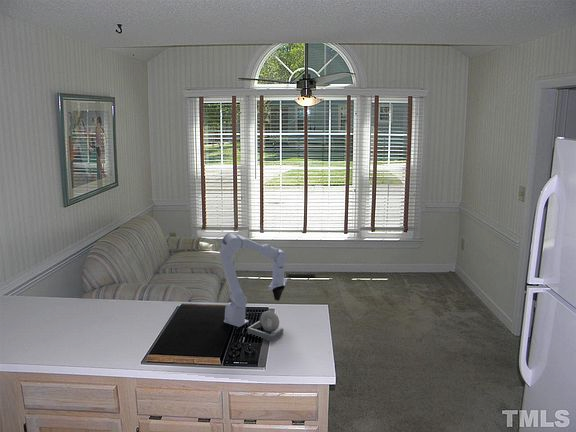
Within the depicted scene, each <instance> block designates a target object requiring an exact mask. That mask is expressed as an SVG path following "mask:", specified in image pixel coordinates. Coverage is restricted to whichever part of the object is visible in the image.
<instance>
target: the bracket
mask: <svg viewBox="0 0 576 432" xmlns="http://www.w3.org/2000/svg"><path fill="white" fill-rule="evenodd" d="M257 328H258V329H257ZM259 328H261V323H260V320H258V321H256V322H254V323H253V324H252V325H249V326H248V327H247V333H248V335H250V334H252V335H251V336H253V335H255V336H254V337H256V336H258V337H257V338H259V337H261V338H260V339H262V338H264V339H263V340H265V339H266V340H265V341H267V342H268V341H269V342H271V343H273V342H275V341H276V340H277V339H279V338H280V337H281V336H284V328H283V327H281V328H280V329H279V330H278V329H277V331H276V332H274V333H273V334H271V333H268V332H265V331H263V330H259Z"/></svg>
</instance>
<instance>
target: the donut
mask: <svg viewBox="0 0 576 432" xmlns="http://www.w3.org/2000/svg"><path fill="white" fill-rule="evenodd" d="M268 319H270V320H271V323H269V322H268ZM259 321H260V326H261V327H262V328H263V329H264V331H267V332H270V333H273V332H275V331H276V330H277V331H278V328H279V326H280V319H279V316H278V315H277V314H276V313H275V312H274V311H272V310H266V311H264V312H262V313H261V315H260V319H259Z"/></svg>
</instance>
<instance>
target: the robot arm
mask: <svg viewBox="0 0 576 432" xmlns="http://www.w3.org/2000/svg"><path fill="white" fill-rule="evenodd" d="M223 236H224V237H222V239H221V246H220V249H219V250H220V251H219V258H220V262H221V264H222V268H223V271H224V274H225V277H226V281H227V283H228V287H229V289H228V290H229V298H230V300H231V302H228V303H227V304H226V305H225V307H224V320H223V322H224V323H225V324H229V325H232V326H235V327H237V328H240V327H242V326H244V325H246V324H247V323H249V320H248V319H246V308H247V307H246V306H247V303H248V298H247V296H246V295H244V292H243V289H242V288H241V285H240V282H239V281H240V280H239V278H238V275H237V272H236V269H235V265H234V262H233V259H232V257H233V255H234V254H236V253H237V252H238V251H239V250H240V249H244V248H249V249H252V250H255V251H257V252H258V253H259V254H260V256H262V257H265V258H267V259H269V260H273V261H272V275H271V276H272V278H271V279H272V280H271V283H270V284H269V285H268V288H267V290H268V291H270V292H272V294H273V297H274V301H278V302H279V301H280V300H281V297H282V295H283V291H284V289H285V288H286V285H287V284H286V283H288V278H286V277H285V270H286V268H285V267H286V262H287V261H288V255H287V254H286V252H285V251H283V249H281V248H279V247H274V246H272V245H271V243H263V244H260V243H259V242H256V241H253V240H251V239H249V238H247V237H245V236H244V235H243V236H242V235H240V234H235V233H233V232H227V233H226V234H225V235H223Z"/></svg>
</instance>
